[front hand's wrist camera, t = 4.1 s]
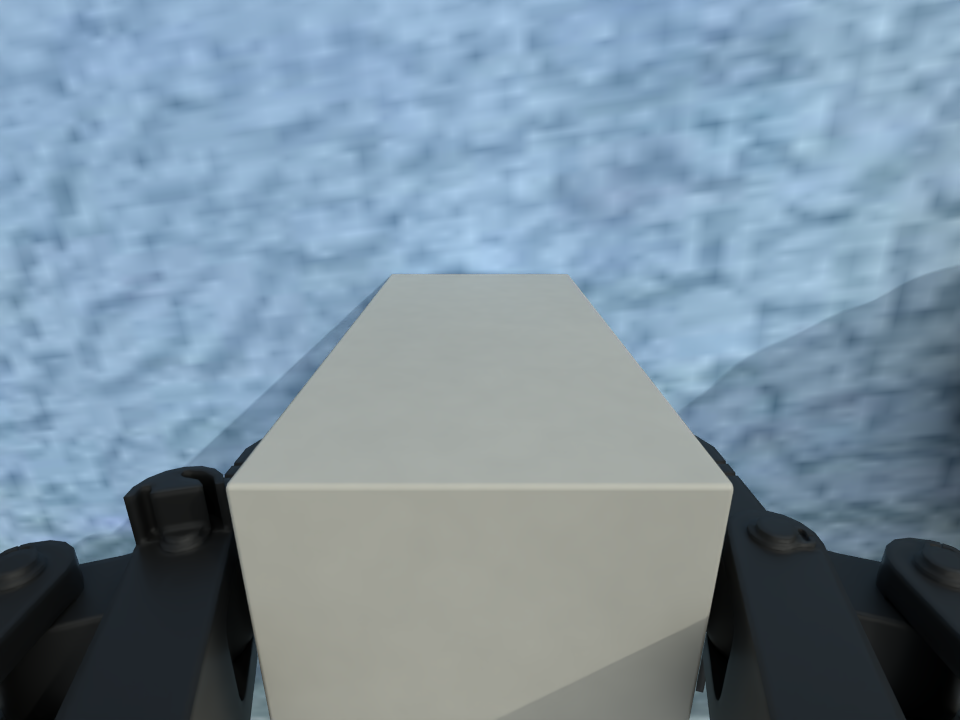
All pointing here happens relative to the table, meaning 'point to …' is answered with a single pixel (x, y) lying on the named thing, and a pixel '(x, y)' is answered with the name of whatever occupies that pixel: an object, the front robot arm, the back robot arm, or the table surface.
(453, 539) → the block
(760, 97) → the table surface
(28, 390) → the table surface
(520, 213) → the table surface
